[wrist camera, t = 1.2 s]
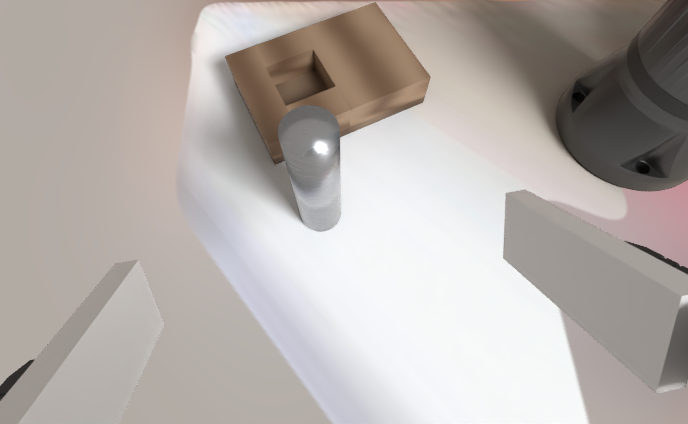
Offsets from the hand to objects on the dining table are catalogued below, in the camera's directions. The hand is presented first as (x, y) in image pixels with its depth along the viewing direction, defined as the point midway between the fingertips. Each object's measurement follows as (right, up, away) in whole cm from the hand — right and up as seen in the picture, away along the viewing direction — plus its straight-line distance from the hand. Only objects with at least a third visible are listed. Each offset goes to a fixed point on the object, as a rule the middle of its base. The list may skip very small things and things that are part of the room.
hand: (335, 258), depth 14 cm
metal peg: (-2, +2, +24) cm, 24 cm away
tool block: (-2, +15, +29) cm, 33 cm away
